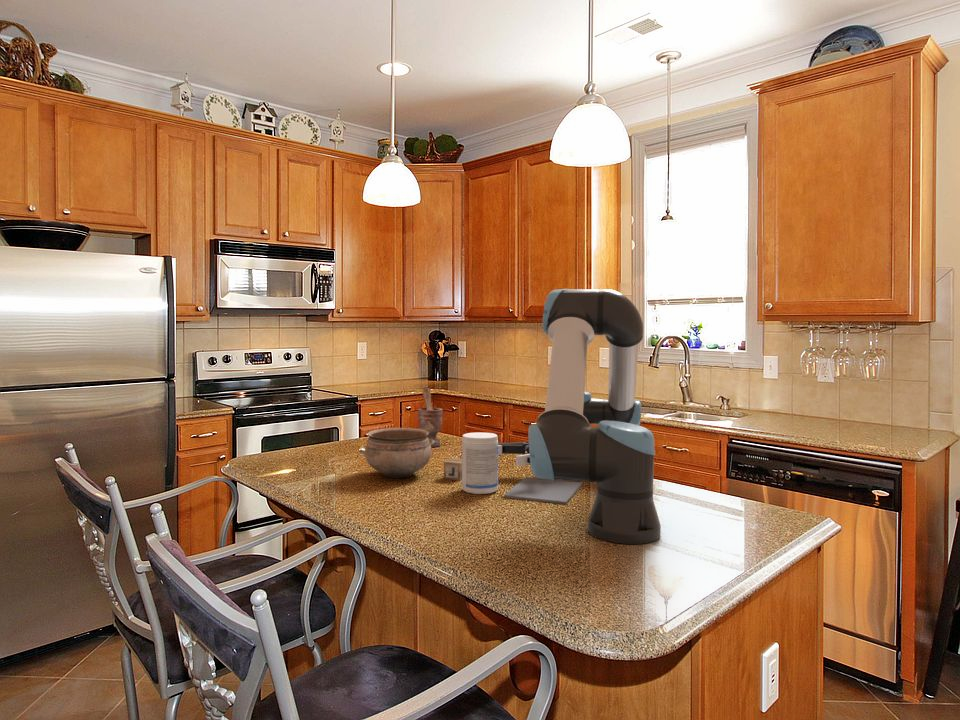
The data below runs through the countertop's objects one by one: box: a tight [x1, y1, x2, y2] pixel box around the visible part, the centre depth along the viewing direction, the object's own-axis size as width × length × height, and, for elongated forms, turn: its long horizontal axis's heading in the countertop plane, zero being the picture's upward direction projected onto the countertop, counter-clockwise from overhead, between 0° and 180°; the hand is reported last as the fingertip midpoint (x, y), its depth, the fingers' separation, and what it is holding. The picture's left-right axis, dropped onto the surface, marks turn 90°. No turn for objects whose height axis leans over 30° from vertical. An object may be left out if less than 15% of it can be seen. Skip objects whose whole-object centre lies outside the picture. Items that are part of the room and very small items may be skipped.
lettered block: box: [443, 457, 462, 482], centre depth 184 cm, size 6×5×5 cm
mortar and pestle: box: [417, 387, 443, 448], centre depth 230 cm, size 12×9×20 cm
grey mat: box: [503, 476, 583, 505], centre depth 171 cm, size 20×16×1 cm
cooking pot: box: [358, 427, 435, 479], centre depth 185 cm, size 25×19×12 cm
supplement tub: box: [461, 431, 499, 495], centre depth 170 cm, size 10×10×15 cm
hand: (499, 456), depth 175 cm, fingers open, 13 cm apart
